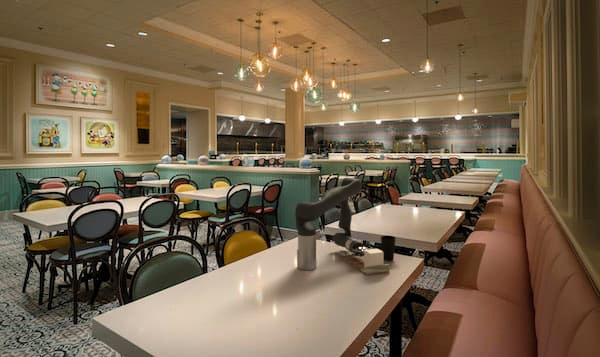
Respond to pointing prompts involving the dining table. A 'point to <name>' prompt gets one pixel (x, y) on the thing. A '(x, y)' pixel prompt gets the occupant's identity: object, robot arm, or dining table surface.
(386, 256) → the cup
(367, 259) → the block
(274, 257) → the dining table surface
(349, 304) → the dining table surface
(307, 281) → the dining table surface
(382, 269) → the track
